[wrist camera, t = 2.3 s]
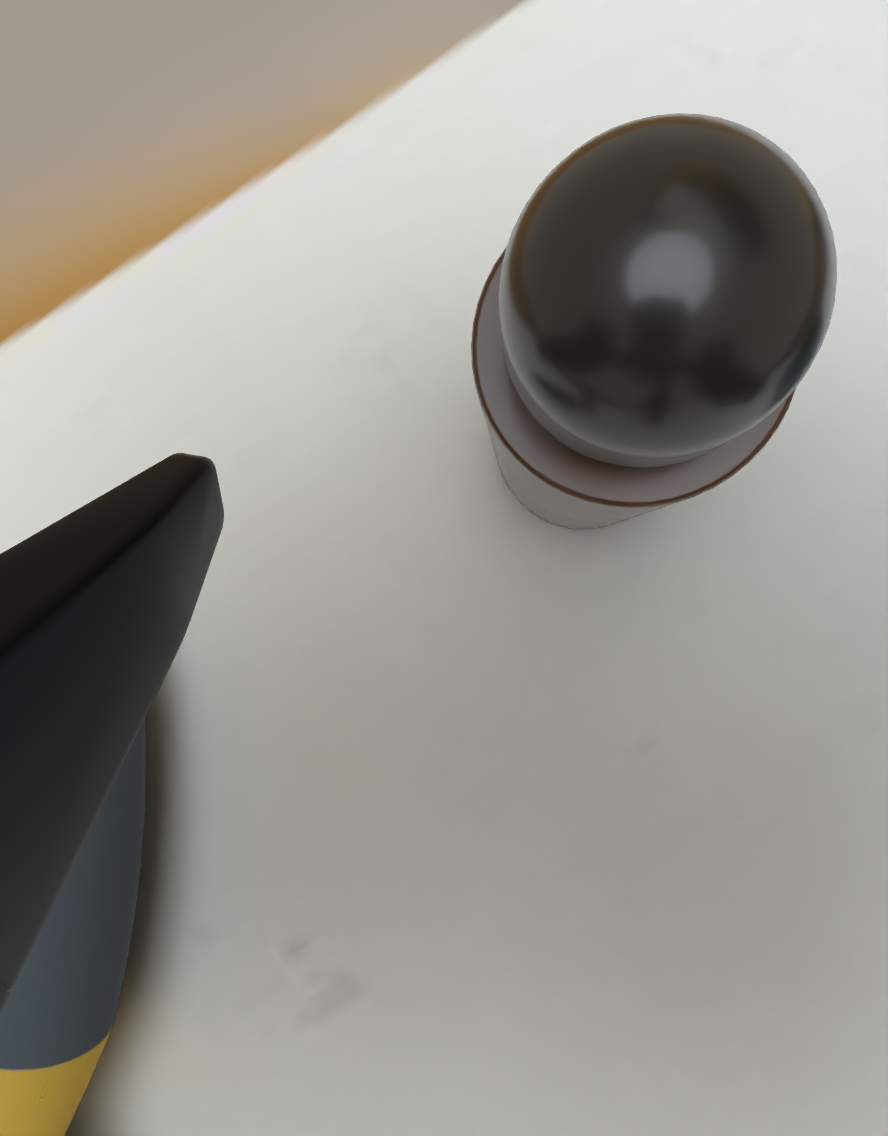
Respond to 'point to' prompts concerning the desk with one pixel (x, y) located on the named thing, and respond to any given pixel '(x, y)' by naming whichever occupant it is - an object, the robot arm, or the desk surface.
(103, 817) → the paintbrush
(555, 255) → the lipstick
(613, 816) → the desk surface
